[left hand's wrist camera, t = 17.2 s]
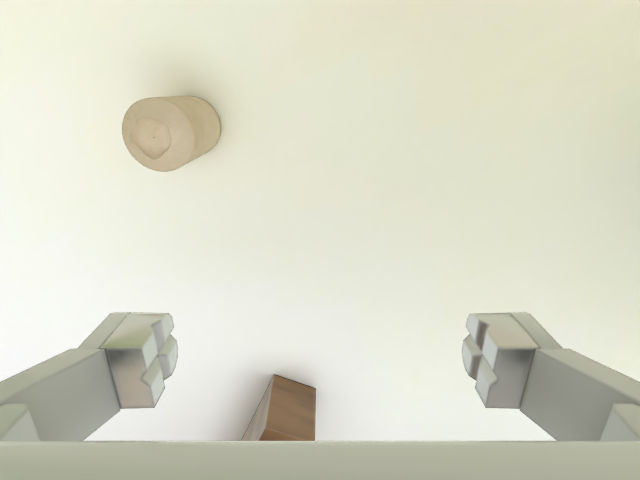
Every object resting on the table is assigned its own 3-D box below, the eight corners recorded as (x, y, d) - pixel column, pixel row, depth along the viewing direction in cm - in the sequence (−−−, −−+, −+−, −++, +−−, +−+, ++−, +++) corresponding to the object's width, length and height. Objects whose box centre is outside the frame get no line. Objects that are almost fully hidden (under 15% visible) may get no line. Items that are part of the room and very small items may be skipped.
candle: (222, 155, 38) (190, 177, 28) (167, 152, 38) (117, 173, 28) (220, 97, 36) (185, 100, 26) (162, 93, 36) (106, 95, 26)
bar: (274, 374, 48) (265, 427, 41) (315, 388, 49) (315, 443, 42) (210, 501, 58) (194, 564, 50) (246, 511, 59) (236, 574, 51)
